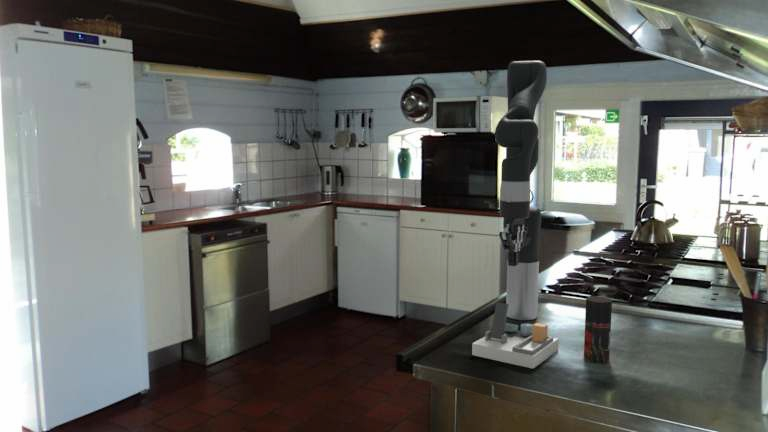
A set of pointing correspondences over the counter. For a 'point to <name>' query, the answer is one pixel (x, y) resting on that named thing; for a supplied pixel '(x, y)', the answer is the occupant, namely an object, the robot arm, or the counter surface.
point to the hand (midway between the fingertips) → (513, 265)
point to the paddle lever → (499, 320)
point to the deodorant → (597, 329)
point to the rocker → (511, 327)
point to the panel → (515, 349)
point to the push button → (526, 329)
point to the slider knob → (539, 332)
